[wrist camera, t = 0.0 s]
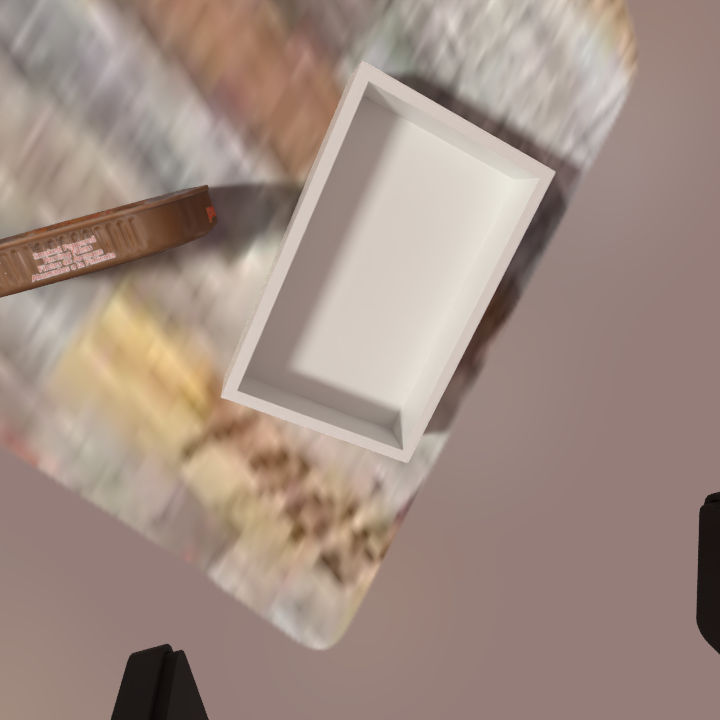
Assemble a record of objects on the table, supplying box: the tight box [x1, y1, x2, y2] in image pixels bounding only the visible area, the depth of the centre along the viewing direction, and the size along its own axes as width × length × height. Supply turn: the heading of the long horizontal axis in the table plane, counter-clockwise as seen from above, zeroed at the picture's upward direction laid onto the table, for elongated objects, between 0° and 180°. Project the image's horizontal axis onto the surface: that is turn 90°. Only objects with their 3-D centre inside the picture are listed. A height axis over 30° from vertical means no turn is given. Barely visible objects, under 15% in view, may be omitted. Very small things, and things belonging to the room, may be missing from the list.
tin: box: [0, 185, 217, 297], centre depth 31 cm, size 15×3×8 cm, turn 105°
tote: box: [221, 61, 556, 463], centre depth 37 cm, size 22×14×4 cm, turn 155°
